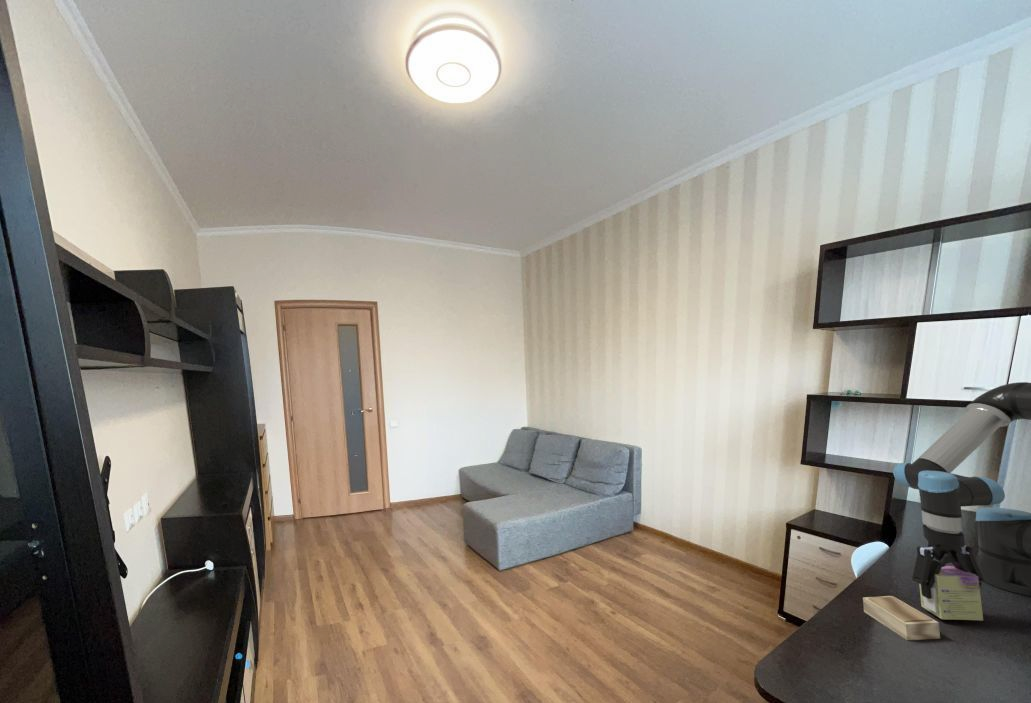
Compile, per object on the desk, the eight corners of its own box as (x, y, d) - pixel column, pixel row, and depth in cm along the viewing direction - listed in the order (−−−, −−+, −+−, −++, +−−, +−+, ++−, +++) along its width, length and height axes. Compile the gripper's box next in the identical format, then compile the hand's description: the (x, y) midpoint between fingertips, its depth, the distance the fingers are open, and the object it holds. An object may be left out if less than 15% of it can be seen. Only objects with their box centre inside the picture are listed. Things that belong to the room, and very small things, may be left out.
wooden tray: (893, 610, 103) (892, 594, 104) (940, 638, 92) (938, 621, 93) (863, 611, 103) (862, 596, 103) (907, 640, 92) (905, 623, 92)
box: (960, 607, 102) (955, 565, 103) (984, 621, 97) (979, 576, 97) (920, 606, 103) (916, 564, 104) (941, 620, 98) (937, 575, 98)
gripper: (963, 520, 106) (972, 596, 104) (889, 524, 105) (896, 602, 103) (999, 531, 98) (1008, 614, 97) (918, 536, 97) (927, 620, 96)
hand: (950, 607), depth 100 cm, fingers closed on box, 11 cm apart
